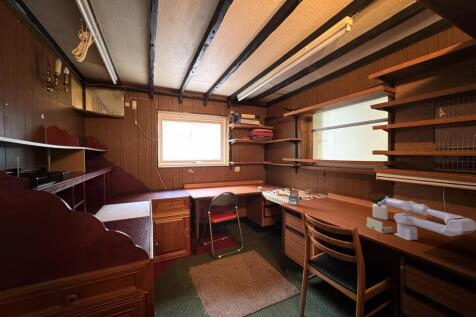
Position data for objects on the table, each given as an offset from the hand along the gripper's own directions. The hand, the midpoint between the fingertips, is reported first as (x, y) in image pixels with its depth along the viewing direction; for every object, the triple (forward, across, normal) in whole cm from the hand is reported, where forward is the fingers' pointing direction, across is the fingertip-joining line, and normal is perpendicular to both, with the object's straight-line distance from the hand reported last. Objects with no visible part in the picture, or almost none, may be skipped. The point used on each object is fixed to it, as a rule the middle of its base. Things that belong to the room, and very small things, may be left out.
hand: (376, 199), depth 141 cm
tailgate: (-4, +11, +18) cm, 21 cm away
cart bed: (-4, +7, +20) cm, 21 cm away
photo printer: (+13, -14, +22) cm, 29 cm away
